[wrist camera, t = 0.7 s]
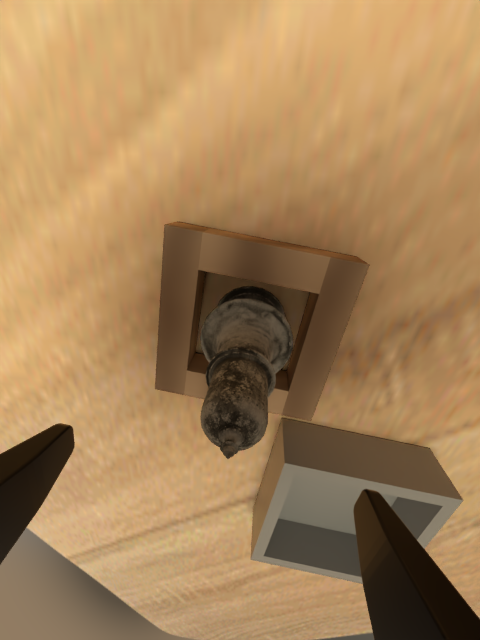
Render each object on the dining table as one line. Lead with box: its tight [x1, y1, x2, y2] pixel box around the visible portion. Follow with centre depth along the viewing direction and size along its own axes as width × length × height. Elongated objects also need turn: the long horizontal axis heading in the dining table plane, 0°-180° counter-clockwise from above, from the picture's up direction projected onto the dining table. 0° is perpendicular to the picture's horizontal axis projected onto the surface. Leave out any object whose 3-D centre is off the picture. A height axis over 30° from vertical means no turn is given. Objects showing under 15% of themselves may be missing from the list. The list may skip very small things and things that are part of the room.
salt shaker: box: [200, 286, 293, 459], centre depth 15 cm, size 6×6×12 cm
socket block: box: [155, 222, 369, 421], centre depth 19 cm, size 12×12×2 cm
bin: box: [251, 418, 463, 584], centre depth 24 cm, size 13×13×4 cm
